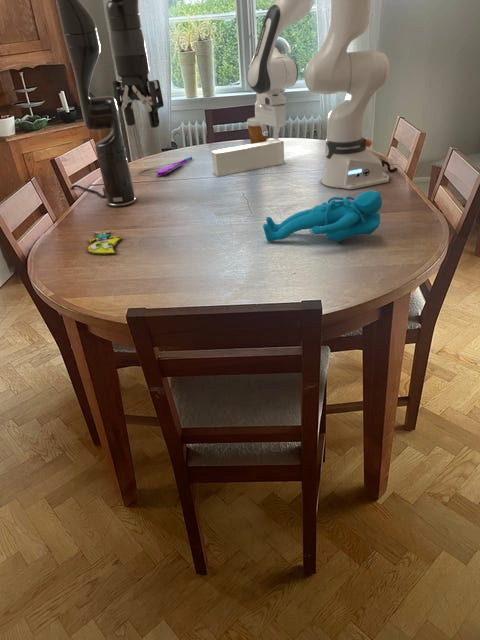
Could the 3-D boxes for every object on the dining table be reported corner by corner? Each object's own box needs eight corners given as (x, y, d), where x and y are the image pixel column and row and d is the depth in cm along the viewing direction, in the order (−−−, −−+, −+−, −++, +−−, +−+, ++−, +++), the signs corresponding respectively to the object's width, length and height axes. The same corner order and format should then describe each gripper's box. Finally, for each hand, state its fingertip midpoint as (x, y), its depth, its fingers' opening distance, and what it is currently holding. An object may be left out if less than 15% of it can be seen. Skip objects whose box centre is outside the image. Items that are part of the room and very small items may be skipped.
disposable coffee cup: (269, 149, 209) (268, 120, 203) (248, 151, 210) (246, 121, 203) (269, 144, 217) (267, 115, 210) (248, 145, 217) (246, 117, 211)
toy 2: (268, 204, 133) (379, 177, 123) (278, 239, 138) (385, 216, 128) (257, 229, 119) (380, 200, 109) (269, 266, 124) (388, 242, 114)
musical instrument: (136, 181, 187) (185, 170, 185) (134, 175, 186) (183, 165, 184) (148, 168, 208) (192, 158, 206) (147, 163, 207) (191, 153, 205)
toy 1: (125, 229, 140) (115, 251, 128) (126, 232, 141) (116, 254, 128) (91, 232, 140) (77, 253, 128) (92, 234, 141) (78, 256, 128)
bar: (278, 160, 193) (278, 139, 189) (284, 163, 189) (283, 141, 185) (213, 173, 185) (211, 151, 181) (218, 176, 181) (215, 153, 177)
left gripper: (97, 55, 113) (113, 127, 122) (139, 53, 105) (152, 131, 114) (121, 51, 118) (134, 121, 127) (163, 49, 110) (174, 124, 119)
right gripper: (249, 96, 184) (252, 134, 191) (272, 100, 168) (274, 142, 175) (264, 94, 186) (266, 132, 193) (288, 98, 169) (289, 139, 176)
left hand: (143, 126), depth 120 cm, fingers open, 8 cm apart
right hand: (270, 137), depth 184 cm, fingers open, 8 cm apart
